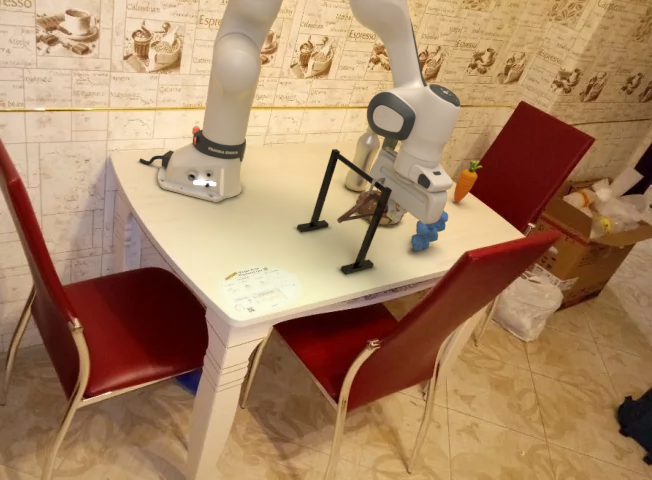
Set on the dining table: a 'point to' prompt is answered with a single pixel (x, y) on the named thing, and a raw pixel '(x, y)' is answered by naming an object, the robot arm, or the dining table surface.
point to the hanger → (373, 195)
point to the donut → (371, 208)
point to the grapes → (428, 232)
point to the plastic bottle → (363, 159)
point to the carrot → (466, 181)
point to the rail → (386, 191)
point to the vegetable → (389, 143)
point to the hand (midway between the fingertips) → (392, 218)
